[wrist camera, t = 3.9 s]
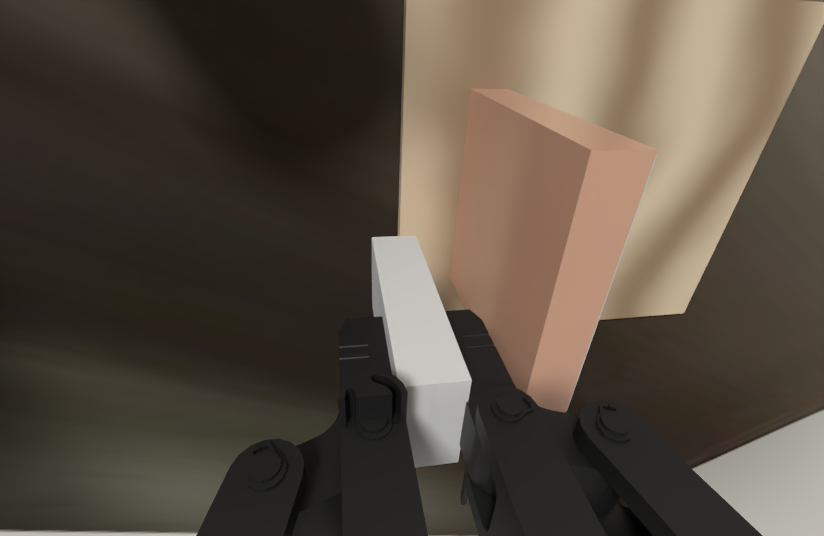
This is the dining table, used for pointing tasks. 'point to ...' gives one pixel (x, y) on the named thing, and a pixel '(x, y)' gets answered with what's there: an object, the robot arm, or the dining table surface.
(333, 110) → the dining table surface
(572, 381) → the tile
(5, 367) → the dining table surface
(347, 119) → the dining table surface
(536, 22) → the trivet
